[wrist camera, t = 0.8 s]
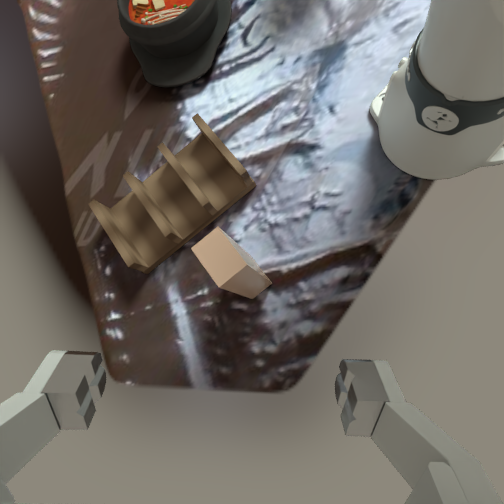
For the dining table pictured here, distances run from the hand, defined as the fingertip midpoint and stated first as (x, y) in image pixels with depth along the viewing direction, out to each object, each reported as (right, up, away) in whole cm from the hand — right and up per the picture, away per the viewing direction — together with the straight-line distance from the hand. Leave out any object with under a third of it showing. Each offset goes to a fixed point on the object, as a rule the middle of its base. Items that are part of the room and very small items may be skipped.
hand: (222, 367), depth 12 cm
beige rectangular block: (+1, 0, +36) cm, 36 cm away
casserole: (-11, +42, +48) cm, 65 cm away
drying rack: (-10, +12, +41) cm, 43 cm away
